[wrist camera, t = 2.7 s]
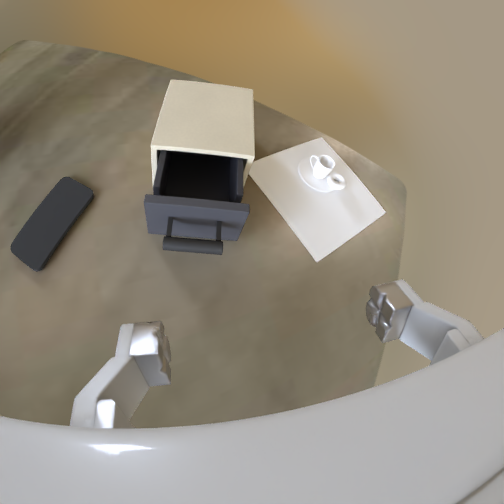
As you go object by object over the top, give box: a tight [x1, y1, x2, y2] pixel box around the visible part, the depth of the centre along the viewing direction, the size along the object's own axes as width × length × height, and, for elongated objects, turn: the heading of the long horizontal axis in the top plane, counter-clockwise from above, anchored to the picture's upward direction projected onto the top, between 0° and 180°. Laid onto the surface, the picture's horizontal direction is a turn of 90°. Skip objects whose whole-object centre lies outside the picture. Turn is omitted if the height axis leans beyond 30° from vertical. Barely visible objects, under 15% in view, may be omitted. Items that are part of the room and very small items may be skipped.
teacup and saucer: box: [297, 154, 348, 193], centre depth 50 cm, size 9×8×4 cm
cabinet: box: [151, 80, 255, 187], centre depth 44 cm, size 16×14×10 cm
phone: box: [11, 177, 94, 272], centre depth 37 cm, size 7×1×15 cm
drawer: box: [144, 150, 249, 255], centre depth 39 cm, size 19×12×8 cm, turn 1°
